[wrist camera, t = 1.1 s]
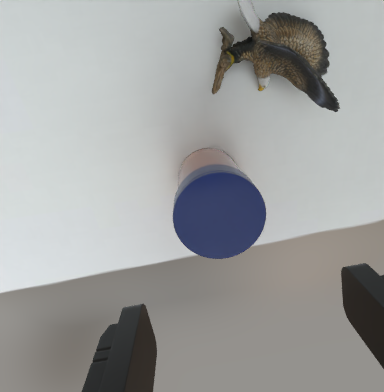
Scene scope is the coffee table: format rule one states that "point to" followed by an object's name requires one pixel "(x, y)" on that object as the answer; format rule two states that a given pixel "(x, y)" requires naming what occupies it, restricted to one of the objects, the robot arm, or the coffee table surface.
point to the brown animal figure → (280, 53)
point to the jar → (204, 161)
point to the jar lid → (218, 212)
